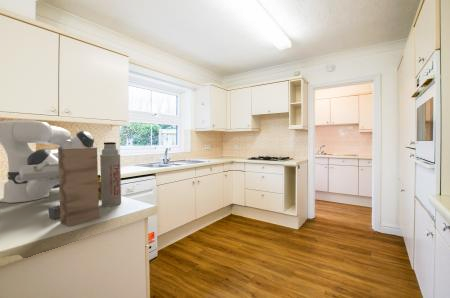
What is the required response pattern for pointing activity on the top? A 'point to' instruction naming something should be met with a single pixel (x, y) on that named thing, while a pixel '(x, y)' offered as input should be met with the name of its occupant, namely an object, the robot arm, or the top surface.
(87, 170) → the pedestal
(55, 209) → the brushed metal plate
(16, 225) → the top surface
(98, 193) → the condiment
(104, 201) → the thermos bottle
